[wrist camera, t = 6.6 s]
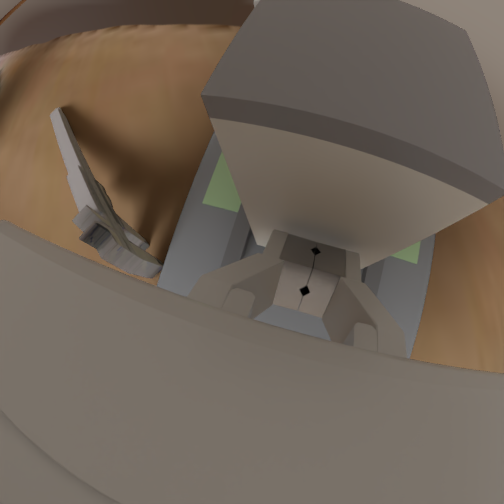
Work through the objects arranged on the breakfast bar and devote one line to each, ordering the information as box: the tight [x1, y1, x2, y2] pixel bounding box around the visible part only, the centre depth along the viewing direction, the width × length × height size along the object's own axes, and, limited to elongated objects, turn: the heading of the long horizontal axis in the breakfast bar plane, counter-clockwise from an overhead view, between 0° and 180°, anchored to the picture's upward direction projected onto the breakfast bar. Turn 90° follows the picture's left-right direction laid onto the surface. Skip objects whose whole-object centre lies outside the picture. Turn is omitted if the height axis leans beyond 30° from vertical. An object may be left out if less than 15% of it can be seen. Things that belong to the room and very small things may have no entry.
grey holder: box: [157, 0, 435, 359], centre depth 11 cm, size 14×18×9 cm
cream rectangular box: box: [201, 0, 504, 269], centre depth 9 cm, size 5×5×11 cm
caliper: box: [50, 107, 163, 278], centre depth 15 cm, size 20×1×6 cm, turn 42°
